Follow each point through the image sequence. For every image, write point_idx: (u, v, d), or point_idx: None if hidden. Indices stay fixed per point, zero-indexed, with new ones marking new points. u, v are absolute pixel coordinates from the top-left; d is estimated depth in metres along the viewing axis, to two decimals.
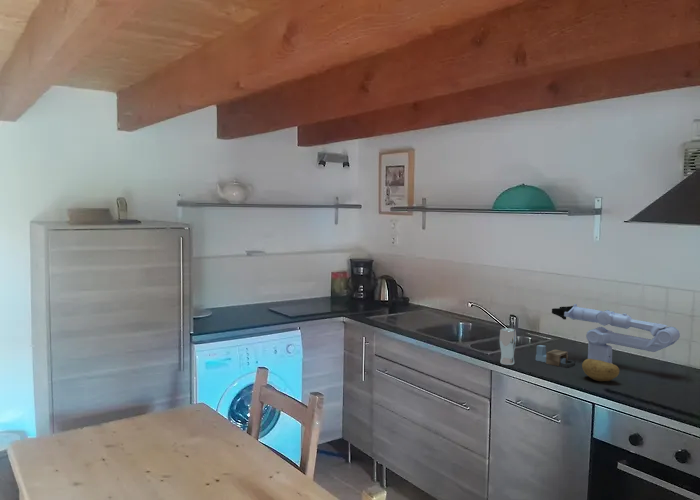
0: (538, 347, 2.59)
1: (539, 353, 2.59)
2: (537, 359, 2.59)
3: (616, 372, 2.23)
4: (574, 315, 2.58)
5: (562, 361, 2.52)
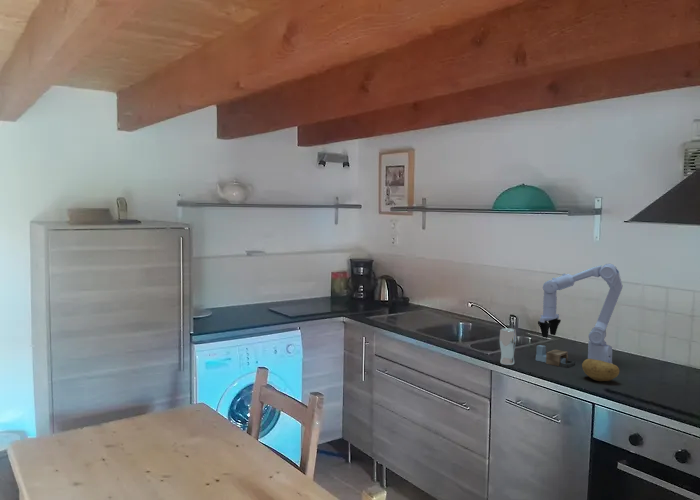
0: (538, 347, 2.59)
1: (539, 353, 2.59)
2: (537, 359, 2.59)
3: (616, 372, 2.23)
4: (548, 315, 2.61)
5: (562, 361, 2.52)
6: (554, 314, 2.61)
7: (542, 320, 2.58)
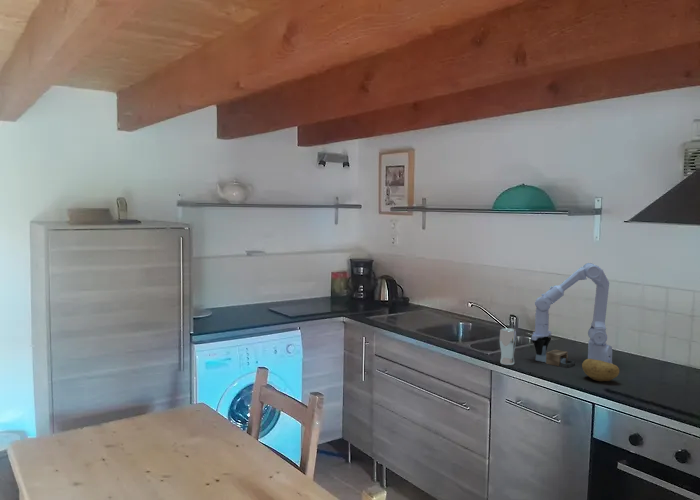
0: None
1: None
2: (537, 359, 2.59)
3: (616, 372, 2.23)
4: (540, 332, 2.57)
5: (562, 361, 2.52)
6: (546, 332, 2.57)
7: (534, 338, 2.54)
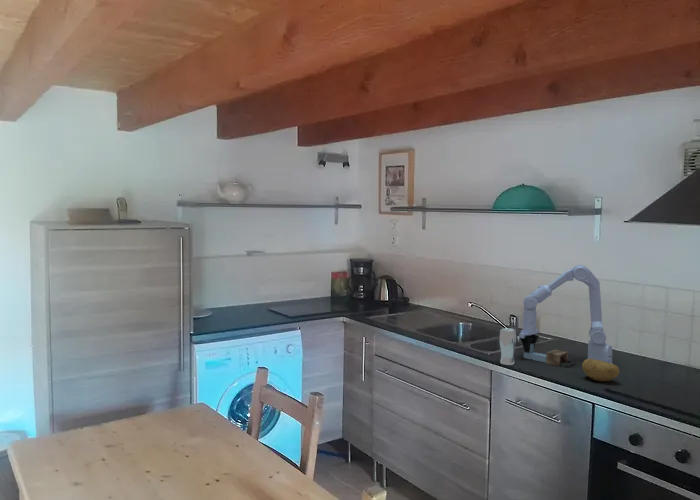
0: None
1: None
2: (525, 357, 2.63)
3: (616, 372, 2.23)
4: (527, 330, 2.61)
5: None
6: (534, 329, 2.61)
7: (521, 336, 2.58)
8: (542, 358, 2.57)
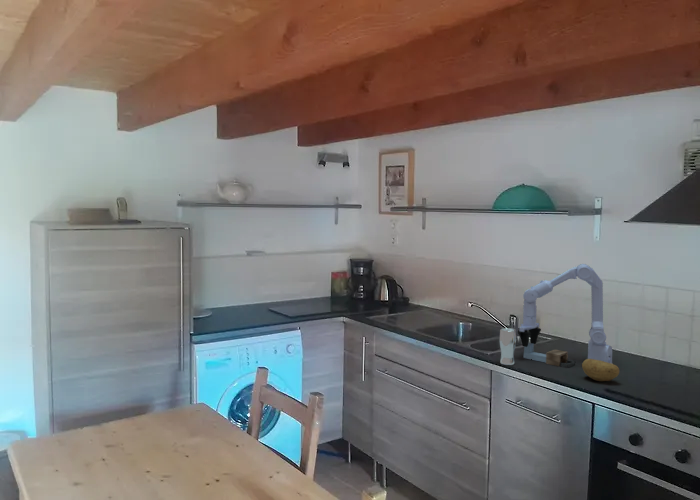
0: None
1: (527, 351, 2.63)
2: (525, 357, 2.63)
3: (616, 372, 2.23)
4: (528, 324, 2.61)
5: None
6: (534, 323, 2.61)
7: (522, 329, 2.58)
8: (542, 358, 2.57)
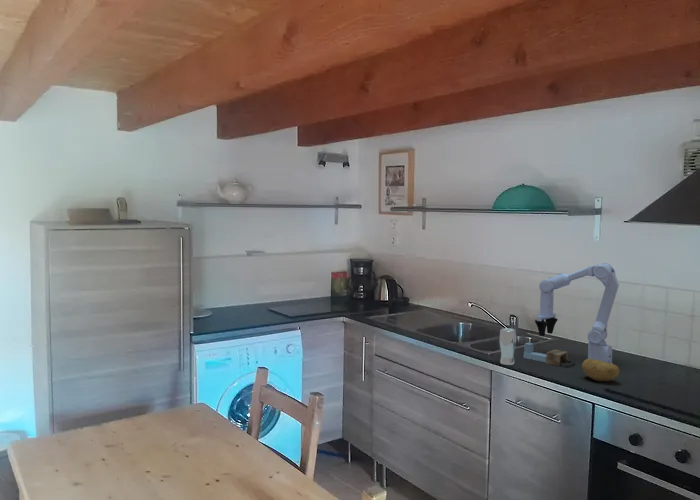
0: (526, 345, 2.63)
1: (527, 351, 2.63)
2: (525, 357, 2.63)
3: (616, 372, 2.23)
4: (545, 314, 2.64)
5: None
6: (551, 313, 2.64)
7: (539, 319, 2.62)
8: (542, 358, 2.57)
